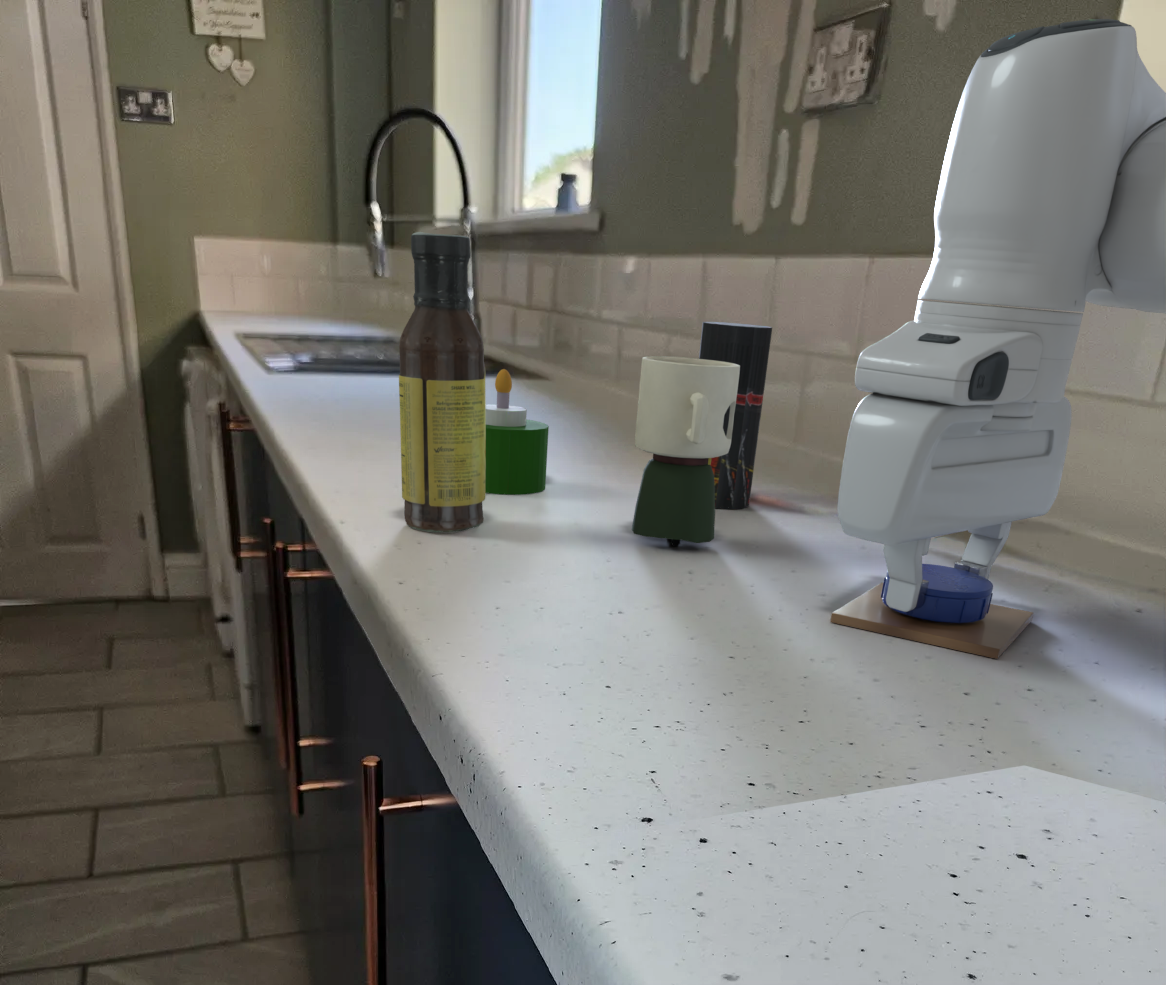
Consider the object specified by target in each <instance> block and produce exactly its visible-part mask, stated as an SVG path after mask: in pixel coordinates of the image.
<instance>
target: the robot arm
mask: <svg viewBox="0 0 1166 985" xmlns="http://www.w3.org/2000/svg"><path fill="white" fill-rule="evenodd" d="M1137 38H1138V37H1137V31H1136V28H1135V27H1134V26H1132V25H1131V24H1128V23H1125V22H1123V21H1120V20H1118V19H1111V18H1092V19H1080V20H1072V21H1064V22H1061V23H1060V24H1053V25H1047V26H1045V25H1044V26H1043V25H1042V26H1038V27H1034V28H1030V29H1026V30H1022V31H1018V32H1015V33H1011V34H1009V35H1006V36H1003V37H1001V38H999V39H998V40H996V41H994V42H993V43H992V44H990V46H989V47H987V48H986V49H985V50H984V51H983V52H981V54H980V55H979V57H978V58H977V59H976V62H975V64H974V65H973V67H972V69H971V71H970V74H969V76H968V77H967V80H966V83H965V85H964V88H963V91H962V93H961V97H960V99H959V102H958V106H957V108H956V111H955V116H954V119H953V123H952V126H951V131H950V135H949V139H948V142H947V146H946V151H945V154H944V160H943V164H942V168H941V173H940V179H939V184H938V188H937V194H936V200H935V205H934V212H933V223H934V236H935V238H934V251H933V256H932V260H931V264H930V267H929V270H928V272H927V274H926V276H925V278H924V280H923V283H922V285H921V288H920V290H919V293H918V296H917V303H916V309H915V313H914V319H913V320H910V321H908V322H906V323H904V324H903V325H902V326H901V327H899V328H898V329H897V330H895V331H894V332H892V333H891V334H889V335H887V336H885V337H883V338H882V339H881V340H878V341H876V342H875V343H872V344H871V345H869V346H867V347H866V348H865V349H863V350H862V351H861V352H860V354H859V355H858V358H857V362H856V368H855V373H854V374H855V375H854V387H855V388H856V389H857V390H858V391H860V392H866V393H868V394H867V395H866V396H865V397H863V398H862V399H861V400H860V401H859V403H858V404H857V407H856V408H855V410H854V412H853V414H852V417H851V420H850V424H849V429H848V431H847V432H848V433H847V438H846V443H845V449H844V455H843V461H842V466H841V473H840V481H839V487H838V496H837V505H836V506H837V509H836V510H837V517H838V520H839V524H840V527H841V529H842V532H843V533H844V534H845V535H847V536H850V537H853V538H856V539H860V540H864V541H868V542H872V543H877V544H881V545H883V551H882V552H883V555H884V558H885V564H886V570H888V574H889V577H890V580H889V585H888V591H887V596H886V603H887V605H888V606H889V607H890V608H894V609H897V610H900V611H904V612H907V611H911V610H915V609H918V608H921V607H922V606H923V605H924V603H925V595H926V593H927V589H928V584H929V581H927V580H923V579H922V564H923V557H924V556H927V555H928V554H929V549H930V545H931V540H932V538H936V537H941V536H946V535H951V534H957V533H962V532H967V531H968V533H970V537H969V539H968V540H967V541H968V542H967V543H966V547H965V548H964V552H963V554H962V556H961V560H957V561H955V562H954V565H953V568H957V569H961V570H965V571H969V572H972V573H975V574H978V575H980V576H982V577H984V578H986V579H988V580H989V577H990V573H991V569H992V566H993V565H994V564H995V562H996V560H997V558H998V556H999V555H1000V553H1001V551H1002V549H1003V547H1004V546H1005V544H1006V542H1007V541H1008V539H1009V536H1010V532H1011V527H1012V524H1013V522H1016V521H1017V522H1018V521H1022V520H1026V519H1027V520H1028V519H1032V518H1037V517H1042V516H1045V515H1047V514H1048V513H1049V511H1050V510H1051V508H1052V506H1053V505H1054V503H1055V500H1056V499H1057V497H1058V494H1059V491H1060V485H1061V481H1062V476H1063V472H1064V468H1065V467H1064V466H1065V462H1066V456H1067V451H1068V445H1069V439H1070V434H1071V427H1072V426H1071V425H1072V416H1073V415H1072V414H1073V413H1072V412H1073V411H1072V405H1071V402H1070V400H1069V399H1068V398H1067V397H1066V396H1065V392H1066V387H1067V382H1068V378H1069V374H1070V370H1071V366H1072V361H1073V357H1074V354H1075V350H1076V346H1077V342H1078V337H1079V334H1080V330H1081V325H1082V321H1083V317H1084V313H1085V308H1086V302H1087V303H1090V304H1093V305H1097V306H1100V307H1108V308H1117V309H1128V310H1135V311H1140V312H1145V313H1152V314H1153V313H1154V314H1165V315H1166V91H1165V90H1164V89H1163V88H1162V87H1161V86H1160V84H1158V83H1157V81H1156V80H1155V79H1154V77H1152V75H1151V74H1150V72H1149V70H1148V69H1147V67H1146V65H1145V64H1144V62H1143V60H1142V58H1141V56H1140V54H1139V50H1138V39H1137Z"/></svg>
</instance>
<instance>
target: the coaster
mask: <svg viewBox="0 0 1166 985" xmlns="http://www.w3.org/2000/svg"><path fill="white" fill-rule="evenodd" d="M883 583H884V581H882V582H880V583H878V584H876V585H875V586H873V587H871V588H870V589H868V590H866V591H864V592H863V593H862V594H860V595H859V596H857V597H856V598H854V599H852V600H850V601H849V602H846V603H845V604H844V605H842V606H841V607H839V608H838V609H836V610H834V611H832V612H831V614H830V623H833V624H837V625H842V626H846V627H849V628H850V627H851V628H855V629H860V630H864V631H869V632H873V633H878V634H881V635H887V636H890V637H897V638H901V639H905V640H909V641H914V642H919V643H923V644H927V645H931V646H935V647H936V646H937V647H940V648H946V649H949V650H954V651H958V652H963V653H968V654H972V655H977V656H981V657H987V658H991V659H994V660H995V659H996V660H998V659H999V658H1000V657H1001V655H1003V653H1004V652H1005V651H1006V650H1007V649H1008V648H1009V647H1010V646H1011V644H1012V643H1014V642H1015V640H1016V639H1017V638H1018V637H1019V635H1021V634H1022V632H1023V631H1024V630H1026V628H1027V627H1028V626H1029V625H1030V624H1031V623H1032V622H1033V618H1034V612H1033V611H1028V610H1023V609H1018V608H1013V607H1008V606H1003V605H999V604H993V603H990V607H989V611H988V614H986V616H985V618H984V619H982V620H980V621H976V622H969V623H947V622H937V621H931V620H925V619H920V618H916V617H912V616H909V615H905V614H902V613H899V612H897V611H895V610H893V609H891V608H889V607H887V606H886V605H885V604H884V603H883V601H882V598H881V593H882V588H883Z"/></svg>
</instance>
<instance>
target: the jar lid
mask: <svg viewBox="0 0 1166 985" xmlns="http://www.w3.org/2000/svg"><path fill="white" fill-rule="evenodd" d="M922 579H923V580H927V581H929V584H928V589H927V593H926V595H925V603H924V605H923V606H922V607H921V608H918V609H915V610H911V611H907V612H904V611H900V610H897V609H894V608H891V609H893V610H895V611H897V612H899V613H902V614H905V615H909V616H912V617H916V618H920V619H925V620H931V621H937V622H947V623H969V622H976V621H980V620H982V619H984V618H985V616H986V614H988V611H989V607H990V604H992V598H993V596H994V594H993V589H994V584H993V582H992V581H991V580H989V578H988V579H986V578H984V577H982V576H980V575H978V574H975V573H972V572H969V571H965V570H961V569H957V568H954V567H952V566H947V565H939V564H931V563H922ZM889 580H890V577H889V574H888V569H886V575H885V577H884V579H883V588H882V593H881V598H882V601H883V603H884V604H885V605H886V606H887V607H889V606H888V605H887V603H886V596H887V591H888V585H889ZM889 608H890V607H889Z"/></svg>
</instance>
